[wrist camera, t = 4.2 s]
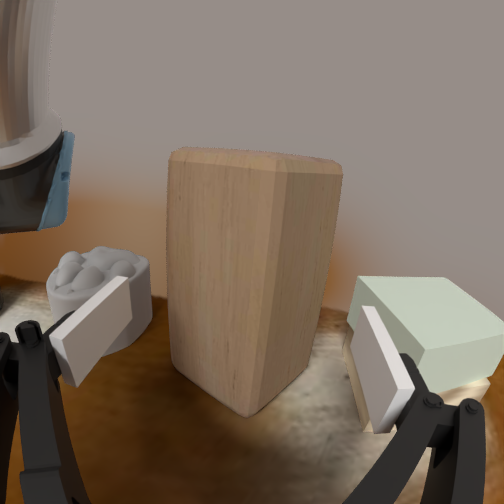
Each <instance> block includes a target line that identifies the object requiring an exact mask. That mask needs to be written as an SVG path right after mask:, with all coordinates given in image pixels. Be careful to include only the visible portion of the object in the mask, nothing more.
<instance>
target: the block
mask: <svg viewBox="0 0 504 504" xmlns="http://www.w3.org/2000/svg"><path fill="white" fill-rule="evenodd" d="M342 178H343V173H342V167H341V165H339V164H338V163H336V162H335V161H333V160H328V159H321V158H314V157H307V156H300V155H292V154H283V153H274V152H264V151H251V150H238V149H222V148H199V147H182V148H180V149H178V150H176V151H173V152H172V153H171V156H170V158H169V164H168V185H167V228H166V232H167V234H166V235H167V236H166V238H167V239H166V246H167V247H166V250H167V292H168V293H167V294H168V316H169V333H170V347H171V359H172V363H173V365H174V366H175V368H176V369H177V370H178V371H179V372H180V373H181V374H183V375H184V376H185V377H187V378H188V379H189V380H191V381H192V382H193V383H195V384H196V385H197V386H199V387H200V388H201V389H203V390H204V391H205V392H207V393H208V394H210V395H211V396H212V397H214V398H215V399H217V400H218V401H219V402H221V403H222V404H224V405H225V406H227V407H228V408H230V409H231V410H233V411H234V412H235V413H237V414H239V415H240V416H243V417H246V418H248V417H251V416H253V415H254V414H256V413H257V412H258V411H259V410H260V409H261V408H263V407H264V406H265V405H266V404H267V403H268V402H270V401H271V400H272V399H273V398H274V397H275V396H276V395H277V394H279V393H280V392H281V391H282V390H283V389H284V388H285V387H286V386H287V385H288V384H289V383H291V382H292V381H293V380H294V379H295V378H296V377H297V376H298V375H299V374H300V373H301V372H302V371H303V370H304V369H305V368H306V367H307V366H308V362H309V357H310V353H311V349H312V345H313V341H314V336H315V332H316V328H317V323H318V319H319V314H320V309H321V305H322V299H323V295H324V290H325V284H326V280H327V274H328V269H329V263H330V257H331V252H332V246H333V240H334V234H335V228H336V221H337V215H338V207H339V201H340V194H341V186H342Z"/></svg>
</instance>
